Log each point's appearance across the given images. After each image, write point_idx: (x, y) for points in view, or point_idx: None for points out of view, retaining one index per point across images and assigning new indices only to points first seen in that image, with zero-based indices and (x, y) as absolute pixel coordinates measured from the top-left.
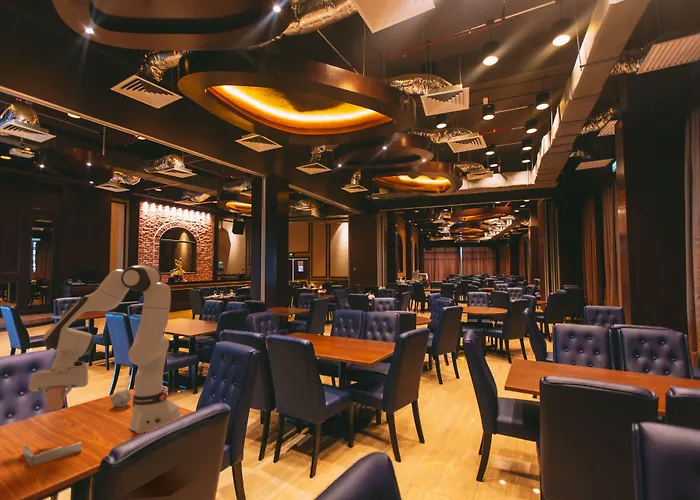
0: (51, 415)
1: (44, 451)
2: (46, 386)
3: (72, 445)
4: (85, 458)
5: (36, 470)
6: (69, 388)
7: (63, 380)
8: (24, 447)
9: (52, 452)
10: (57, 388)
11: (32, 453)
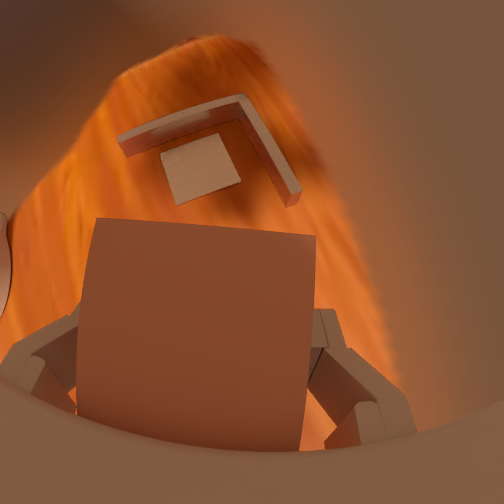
0: None
1: (227, 185)
2: (387, 440)
3: (140, 126)
4: (122, 109)
5: (223, 89)
6: (26, 339)
7: (37, 498)
8: (291, 171)
9: (192, 109)
10: (150, 328)
11: (247, 114)
